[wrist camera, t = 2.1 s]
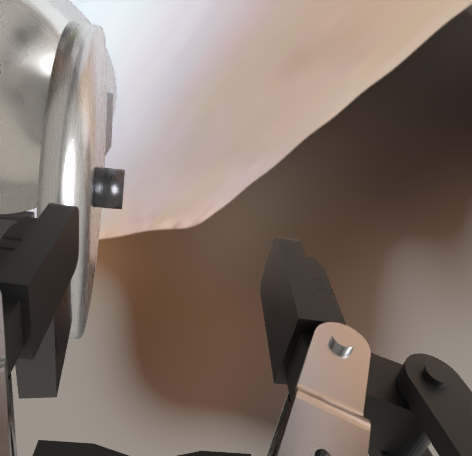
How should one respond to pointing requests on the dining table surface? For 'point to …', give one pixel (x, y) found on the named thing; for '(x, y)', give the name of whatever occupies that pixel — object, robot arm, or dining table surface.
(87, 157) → the cooker lid
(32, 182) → the cooker pot
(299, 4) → the dining table surface
